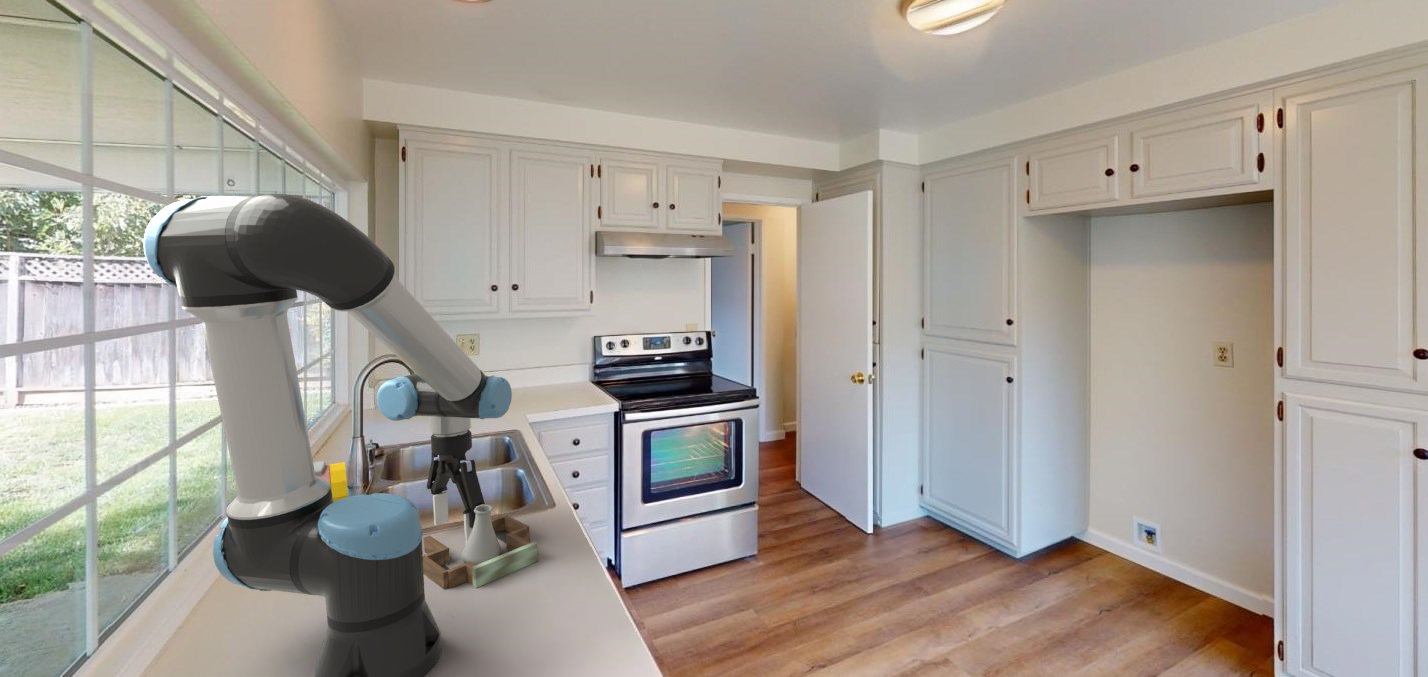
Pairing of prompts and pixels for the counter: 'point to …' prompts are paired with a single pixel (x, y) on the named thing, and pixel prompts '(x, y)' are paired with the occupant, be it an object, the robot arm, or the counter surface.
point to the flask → (481, 538)
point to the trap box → (487, 571)
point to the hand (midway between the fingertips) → (456, 532)
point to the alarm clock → (333, 478)
